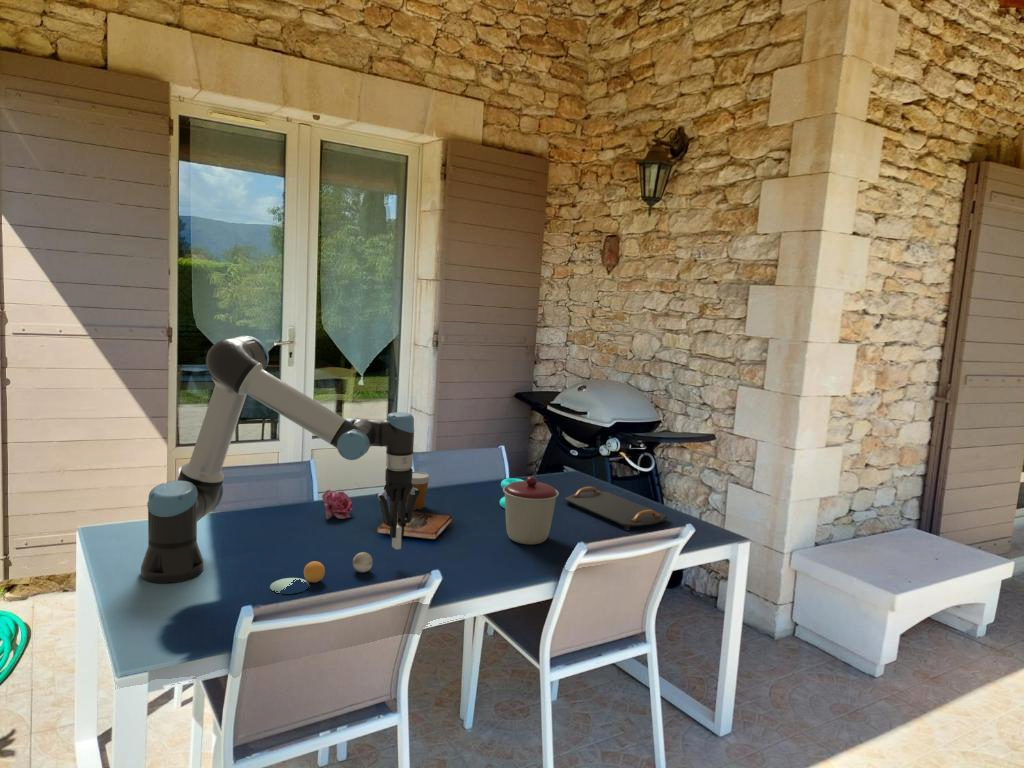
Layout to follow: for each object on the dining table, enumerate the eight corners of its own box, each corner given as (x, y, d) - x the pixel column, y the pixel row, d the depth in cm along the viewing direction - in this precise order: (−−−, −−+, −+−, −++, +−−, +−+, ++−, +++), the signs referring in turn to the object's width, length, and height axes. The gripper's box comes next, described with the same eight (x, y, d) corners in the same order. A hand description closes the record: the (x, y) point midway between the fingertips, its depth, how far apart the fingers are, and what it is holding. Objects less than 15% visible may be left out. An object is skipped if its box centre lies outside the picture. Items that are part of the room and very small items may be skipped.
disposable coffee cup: (415, 501, 264) (417, 469, 263) (433, 507, 258) (435, 475, 257) (396, 506, 257) (397, 474, 255) (414, 513, 251) (416, 480, 249)
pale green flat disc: (264, 583, 188) (264, 582, 188) (301, 575, 194) (301, 575, 194) (277, 598, 180) (277, 597, 180) (315, 589, 186) (315, 589, 186)
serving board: (674, 525, 259) (675, 509, 258) (629, 535, 245) (631, 518, 244) (600, 495, 290) (601, 481, 289) (556, 503, 276) (558, 487, 275)
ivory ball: (348, 569, 200) (349, 551, 199) (367, 566, 203) (367, 547, 202) (357, 577, 195) (358, 558, 195) (375, 573, 199) (376, 554, 198)
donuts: (499, 477, 268) (525, 477, 270) (497, 502, 270) (523, 503, 272) (503, 484, 259) (530, 485, 260) (501, 511, 260) (528, 511, 262)
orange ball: (300, 579, 191) (300, 560, 190) (319, 575, 194) (320, 556, 194) (307, 587, 187) (308, 567, 186) (327, 583, 190) (328, 563, 189)
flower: (354, 525, 244) (356, 508, 238) (324, 529, 241) (325, 512, 234) (349, 498, 252) (351, 481, 245) (320, 502, 248) (321, 484, 241)
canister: (529, 554, 221) (534, 488, 218) (488, 537, 233) (492, 474, 230) (565, 541, 234) (571, 479, 231) (524, 525, 246) (529, 466, 243)
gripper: (384, 473, 194) (381, 556, 198) (426, 468, 202) (422, 547, 205) (372, 467, 200) (369, 547, 203) (412, 462, 208) (410, 539, 211)
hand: (396, 547), depth 204 cm, fingers closed
